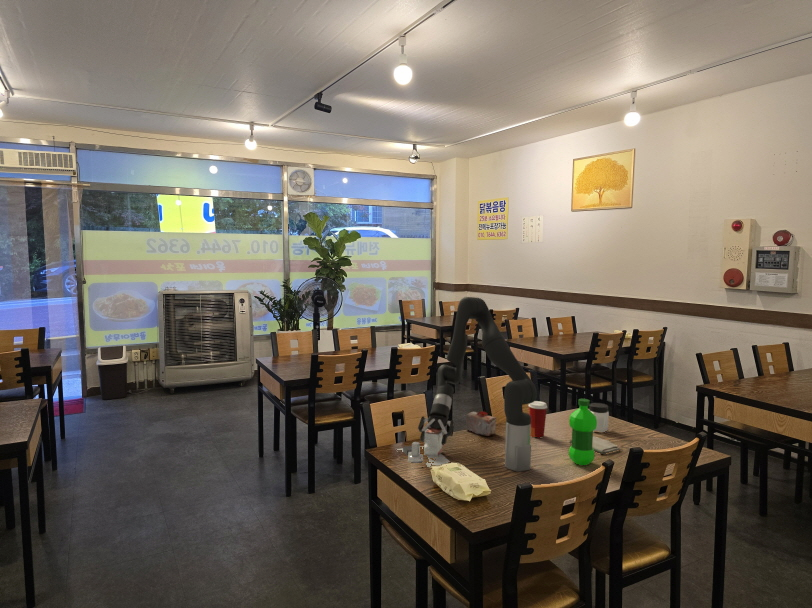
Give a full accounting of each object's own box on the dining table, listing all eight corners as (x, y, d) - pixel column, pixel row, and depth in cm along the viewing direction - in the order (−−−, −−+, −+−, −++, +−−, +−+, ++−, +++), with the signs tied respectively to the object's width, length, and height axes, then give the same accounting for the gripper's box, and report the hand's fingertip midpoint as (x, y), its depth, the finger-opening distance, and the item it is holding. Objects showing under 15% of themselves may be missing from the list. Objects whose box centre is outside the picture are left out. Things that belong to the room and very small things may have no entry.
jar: (601, 434, 242) (602, 408, 241) (584, 430, 248) (585, 405, 247) (610, 430, 248) (611, 405, 247) (593, 426, 254) (595, 401, 253)
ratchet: (425, 462, 204) (425, 445, 204) (410, 464, 202) (410, 446, 202) (413, 450, 217) (414, 433, 216) (399, 452, 215) (399, 435, 214)
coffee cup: (548, 435, 240) (549, 402, 239) (542, 440, 233) (544, 406, 232) (530, 431, 244) (531, 399, 243) (524, 436, 238) (525, 403, 236)
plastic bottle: (564, 458, 212) (566, 396, 210) (590, 458, 212) (593, 397, 210) (571, 467, 202) (573, 403, 200) (599, 468, 202) (602, 403, 200)
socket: (442, 452, 216) (442, 429, 215) (438, 456, 210) (438, 433, 210) (428, 450, 218) (428, 427, 217) (423, 454, 213) (424, 431, 212)
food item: (498, 434, 241) (499, 412, 240) (489, 438, 235) (489, 416, 234) (473, 427, 250) (474, 407, 249) (463, 431, 244) (464, 410, 243)
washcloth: (603, 457, 215) (603, 449, 215) (568, 444, 230) (568, 437, 230) (621, 452, 222) (622, 444, 221) (586, 439, 237) (586, 432, 237)
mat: (453, 465, 203) (453, 464, 203) (413, 470, 198) (413, 469, 198) (431, 446, 224) (431, 445, 224) (395, 449, 219) (395, 449, 219)
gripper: (423, 400, 222) (413, 435, 213) (456, 404, 217) (447, 440, 208) (426, 409, 228) (417, 444, 218) (459, 413, 223) (451, 449, 213)
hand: (432, 442), depth 213 cm, fingers open, 8 cm apart
